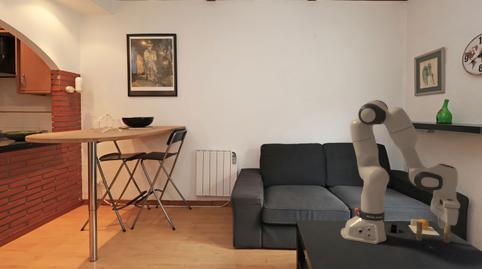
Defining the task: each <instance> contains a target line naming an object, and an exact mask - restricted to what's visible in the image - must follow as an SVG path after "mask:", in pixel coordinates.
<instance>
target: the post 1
mask: <svg viewBox="0 0 482 269" xmlns="http://www.w3.org/2000/svg"><path fill="white" fill-rule="evenodd" d="M422 226H423V223H422V222H417V228H416V236H415V238H416V240H417V241H423V234H422Z"/></svg>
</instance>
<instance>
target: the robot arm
mask: <svg viewBox="0 0 482 269" xmlns="http://www.w3.org/2000/svg"><path fill="white" fill-rule="evenodd" d="M375 125H384V126H385V128H386V129H387V132H388V135H389V136H390V139H391V140H392V141H393V143H394V144H395V146H396V147H397V148H398V150H399V151H400V152H401V154H402V156H403V158H404V161H405V163H406V164H405V165H407V177H408V180H409V182H410V183H411V184H412V185H414V186H415V187H416V188H417V189H418V190H421V191H427V192H429V191H433V193H432V194H433V195H432V199H431V203H430V207H429V208H430V212H432V213H433V214H434V215H435V216H436V217H437V218H436V219H437V226H438V228H440V229H442V230H444V229H445V225H446V224H447V225H451V226H456V225H457V223H458V219H459V209H460V208H461V203H460V202H459V201H458V197H457V191H456V190H457V187H458V181H459V180H458V178H459V174H458V169H457V168H456V167H454V166H452V165H449V164H446V163H437V164H436V165H434V166H432V167H428V168H426V167H425V165H424V164H423V163H422V162H421V159H420V157H419V154H418V152H417V150H416V143H417V142H418V135H417V131H416V129H415V126H414V124H413V122H412V120H411V118H410V116H409V114H408V113H407V112H406V111H405V109H404V108H402V107H400V106H399V107H398V106H396V107H395V106H394V107H391V108H389V107H388V105H387V104H386V103H385V101H382V100H378V99H377V100H376V99H375V100H371V101H368V102H367V103H365V104H362V105H361V107H360V108H359V110H358V117H356V118H355V119H353V120H352V121H350V124H349V126H350V127H349V128H350V136H351V137H350V138H351V141H352V144H353V148H354V151H355V152H354V153H355V156H356V163H357V169H358V173H359V177H360V178H361V179H362V181H363V187H362V192H361V195H360V208H359V207H355V209H354V211H355V213H356V215H355V216H353V217H352V218H350V219H348V220H347V221H346V223H345V227H343V228H341V230H340V234H341V237H342V238H344V239H345V240H349V241H355V242H362V243H367V244H368V243H369V244H373V245H377V244H379V243H382V242H385V241H386V240H387V236H386V235H387V234H386V231H385V221H386V220H385V219H386V216H385V215H386V214H385V210H384V209H385V195H386V191H387V187H388V186H387V185H388V184H389V182H390V175H389V173H388V172H387V170H386V169H385V168H384V167H382V166H381V165H380V161H379V160H380V159H379V148H378V144H377V141H376V137H375V134H374V128H373V127H374V126H375Z"/></svg>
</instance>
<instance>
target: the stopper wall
mask: <svg viewBox="0 0 482 269" xmlns="http://www.w3.org/2000/svg"><path fill="white" fill-rule="evenodd" d="M419 220H420V219H413V218H411V219H410V225H414V226H417V222H418V221H419Z"/></svg>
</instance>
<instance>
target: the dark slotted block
mask: <svg viewBox="0 0 482 269" xmlns="http://www.w3.org/2000/svg"><path fill="white" fill-rule="evenodd" d="M397 227H398V224H397V222H390V226H389V227H388V233H391V234H399V231H400V230H399V228H397Z"/></svg>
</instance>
